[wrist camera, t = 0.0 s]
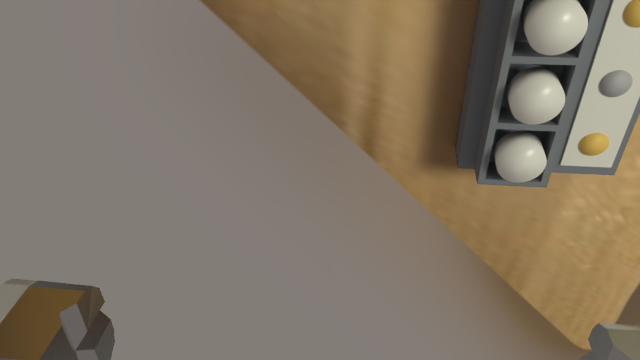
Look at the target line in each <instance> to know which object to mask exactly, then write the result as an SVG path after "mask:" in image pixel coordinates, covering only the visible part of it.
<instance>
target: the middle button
mask: <svg viewBox="0 0 640 360" xmlns="http://www.w3.org/2000/svg"><path fill="white" fill-rule="evenodd" d="M507 99H508V102H509V106H510V109H511V112H512V114H513V116H514V117H515V118H516V119H517V120H518V121H520V122H522V123H525V124H531V125H535V124H542V123H545V122H547V121H550V120H551V119H553V118H554V117H556V116H557V115H558V114H559V113H560V111H561V110H562V108H563V107H564V104H565V93H564V91H563V88H562V86H561V84H560V82H559V79H558V77H557V76H556V74H555V73H554V72H552V71H551V70H549V69H547V68H543V67H532V68H528V69H525V70H523V71H521V72H519V73H518V74H516V75H515V76H514V77H513V78H512V80H511V81H510V82H509V84H508V87H507Z"/></svg>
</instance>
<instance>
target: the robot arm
mask: <svg viewBox="0 0 640 360" xmlns="http://www.w3.org/2000/svg"><path fill="white" fill-rule="evenodd" d="M104 302H105V301H104V298H103V296H102V293H101V291H100V289H99V288H97V287H93V286H85V285H75V284H66V283H57V282H46V281H33V280H22V279H10V280H8V281H7V282H4V283H2V284H1V285H0V360H110V359H111V356H112V351H113V347H114V342H115V339H114V328H113V325H112V322H111V319H109V318H108V317H107V316H106V315H105V314H104V313H102V312H101V311H100V309H101V307H102V305H103V304H104ZM588 340H589V343H590V346H591V348H592V351H591V352H590V353H588V354H587V355H585V356H583V357H582V358H581V360H640V326H634V325H619V324H603V323H598V324H597V325H596V326H595V327H594V328H593V329H592V331H591V334H590V336H589V339H588Z"/></svg>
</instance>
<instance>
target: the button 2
mask: <svg viewBox="0 0 640 360" xmlns="http://www.w3.org/2000/svg"><path fill="white" fill-rule="evenodd" d="M522 26H523V30H524V32H525V35H526V37H527V40H528V42H529V44H530V46H531V47H532V48H533V49H534V50H535V51H537V52H538V53H541V54H544V55H558V54H562V53H565V52H567V51H569V50H571V49H572V48H574V47H575V46H576V45H577V44H578V43H579V42H580V41H581V40H582V39H583V37H584V35H585V33H586V31H587V27H588V18H587V15H586V13H585V11H584V9H583V8H582V6H581V5H580V3H579V2H578V0H532V1H531V2H530V4H529V5H528V6H527V8H526V9H525V11H524V14H523V18H522Z"/></svg>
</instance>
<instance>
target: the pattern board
mask: <svg viewBox="0 0 640 360" xmlns="http://www.w3.org/2000/svg"><path fill="white" fill-rule="evenodd" d="M531 1H532V0H479V6H478V12H477V18H476V24H475V31H474V37H473V43H472V49H471V55H470V62H469V68H468V74H467V80H466V86H465V92H464V99H463V105H462V111H461V117H460V123H459V130H458V136H457V142H456V148H455V150H456V158H457V165H458V168H473V169H475V173H476V179H477V184H486V185H506V186H526V187H547V184H548V181H549V178H550V174H551V172H557V173H578V174H599V175H614V174H615V172H616V169H617V167H618V164H619V162H620V159H621V157H622V155H623V152H624V150H625V147H626V145H627V142H628V140H629V137H630V135H631V133H632V130H633V128H634V125H635V123H636V120H637V118H638V115H639V113H640V0H578V2H579V3H580V5H581V6H582V8H583V9H584V11H585V13H586V15H587V18H588V27H587V31H586V33H585V35H584V37H583V39H582V40H581V41H580V42H579V43H578V44H577V45H576V46H575V47H574V48H572V49H571V50H569V51H567V52H565V53H562V54H558V55H544V54H541V53H538V52H537V51H535V50H534V49H533V48H532V47H531V46H530V44H529V42H528V40H527V37H526V35H525V32H524V30H523V26H522V18H523V14H524V11H525V9H526V8H527V6H528V5H529V4H530V2H531ZM532 67H543V68H547V69H549V70H551V71H552V72H554V73H555V74H556V76H557V77H558V79H559V82H560V84H561V86H562V88H563V91H564V93H565V104H564V107H563V108H562V110H561V111H560V113H559V114H558V115H557V116H556V117H554V118H553V119H551V120H550V121H547V122H545V123H542V124H535V125H531V124H525V123H522V122H520V121H518V120H517V119H516V118H515V117H514V116H513V114H512V112H511V109H510V106H509V102H508V99H507V87H508V84H509V82H510V81H511V80H512V78H513V77H514V76H515V75H516V74H518V73H519V72H521V71H523V70H525V69H528V68H532ZM516 131H526V132H530V133H532V134H534V135H536V136H537V137H538V138H539V139H540V141H541V144H542V147H543V150H544V153H545V156H546V159H547V163H546V167H545V169H544V171H543V172H542V173H541V174H540V175H539V176H537V177H536V178H534V179H532V180H530V181H526V182H520V183H516V182H510V181H507V180H505V179H504V178H502V177H501V176H500V175H499V173H498V171H497V167H496V163H495V158H494V152H493V151H494V147H495V145H496V143H497V142H498V141H499V139H501V138H502V137H503V136H505V135H507V134H509V133H512V132H516Z"/></svg>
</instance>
